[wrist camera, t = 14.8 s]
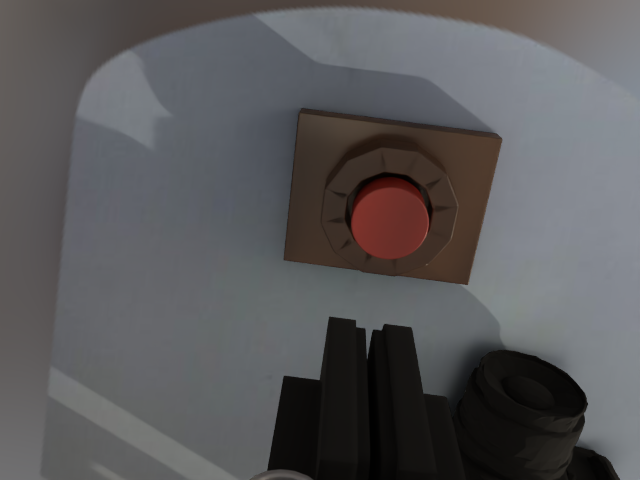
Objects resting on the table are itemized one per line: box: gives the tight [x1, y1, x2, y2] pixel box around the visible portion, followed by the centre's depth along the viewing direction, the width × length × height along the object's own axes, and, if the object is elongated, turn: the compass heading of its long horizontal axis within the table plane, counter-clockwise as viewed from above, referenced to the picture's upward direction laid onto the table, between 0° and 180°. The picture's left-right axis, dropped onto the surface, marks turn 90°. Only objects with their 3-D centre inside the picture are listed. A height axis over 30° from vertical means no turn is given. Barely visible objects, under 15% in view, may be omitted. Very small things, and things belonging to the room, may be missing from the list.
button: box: [351, 177, 429, 259], centre depth 29 cm, size 4×4×2 cm
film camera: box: [452, 350, 620, 480], centre depth 33 cm, size 15×10×9 cm, turn 78°
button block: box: [284, 108, 502, 285], centre depth 31 cm, size 10×8×3 cm
